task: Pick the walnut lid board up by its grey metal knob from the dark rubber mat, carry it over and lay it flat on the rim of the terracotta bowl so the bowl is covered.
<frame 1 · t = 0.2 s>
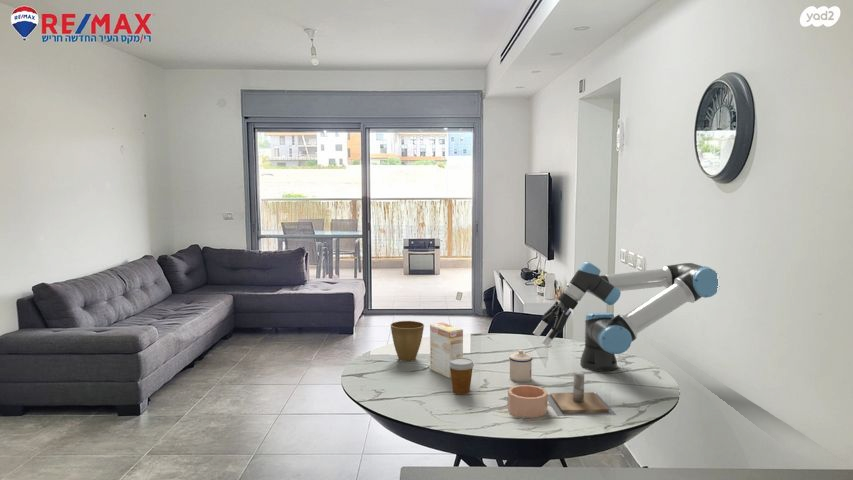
hand: (540, 339, 235), 16 cm above the table, tool tilted 35°, fingers open, 13 cm apart
plant pot: (407, 359, 262), on the table
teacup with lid: (519, 377, 237), on the table
coffeecake box: (446, 372, 244), on the table
rubber mat: (578, 405, 207), on the table
bowl: (527, 411, 202), on the table
disposable coffee cup: (461, 392, 221), on the table
lid board: (578, 404, 207), point 1 cm above the table, touching rubber mat
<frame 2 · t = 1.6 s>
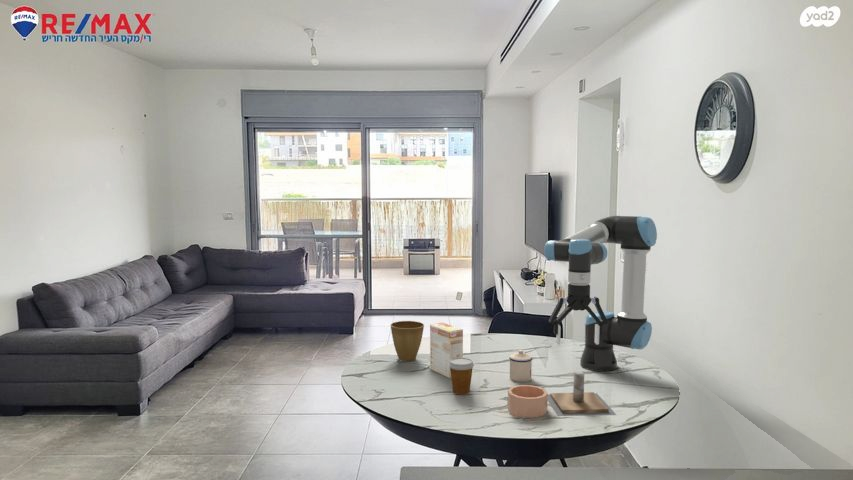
hand: (577, 343, 205), 22 cm above the table, tool pointing down, fingers open, 13 cm apart
nothing on the table moved.
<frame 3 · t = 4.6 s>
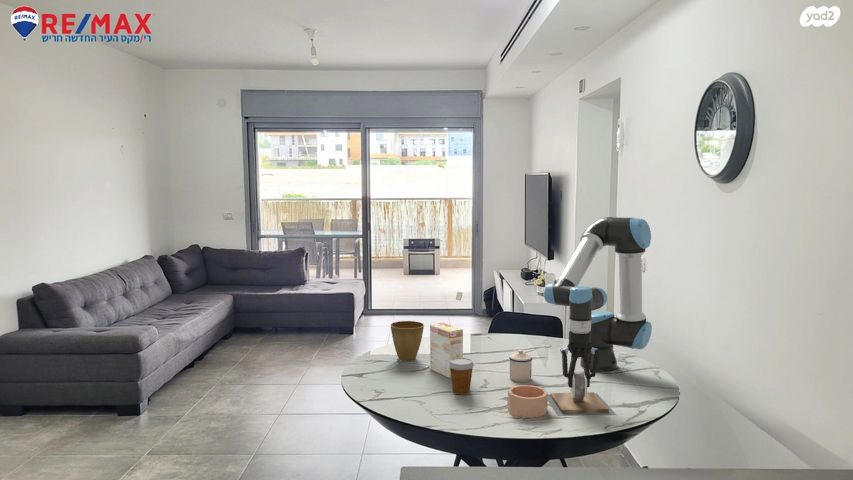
hand: (578, 395, 207), 4 cm above the table, tool pointing down, fingers closed on lid board, 4 cm apart
lid board: (578, 404, 207), point 1 cm above the table, touching gripper, rubber mat
everything else where it was.
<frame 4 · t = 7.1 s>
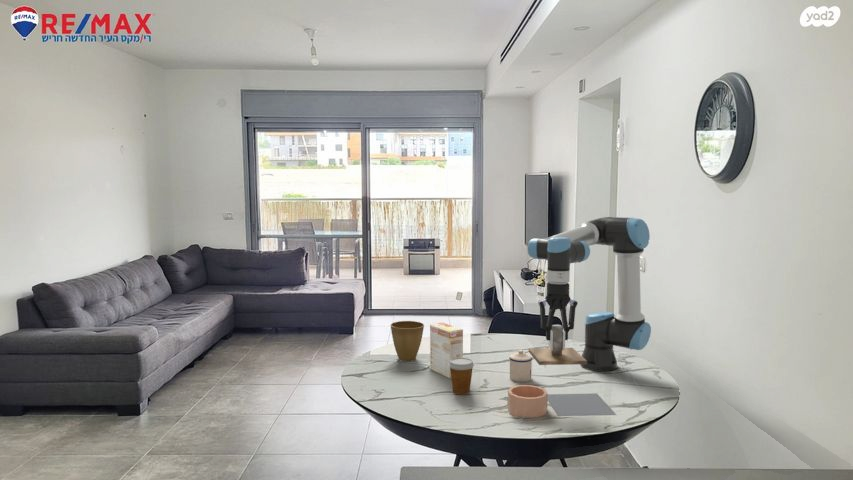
hand: (556, 349, 202), 21 cm above the table, tool pointing down, fingers closed on lid board, 4 cm apart
lid board: (556, 357, 203), point 18 cm above the table, touching gripper
everything else where it was.
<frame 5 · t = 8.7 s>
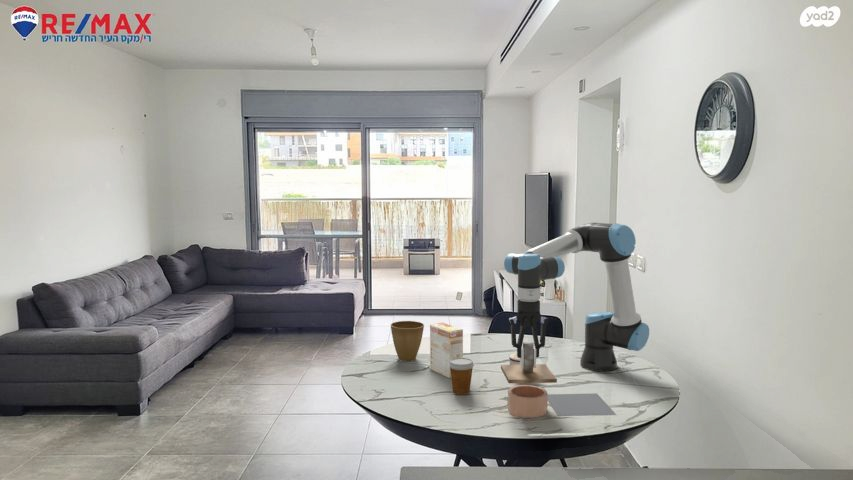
hand: (527, 366, 201), 16 cm above the table, tool pointing down, fingers closed on lid board, 4 cm apart
lid board: (527, 375, 201), point 13 cm above the table, touching gripper
everything else where it was.
when the fingers open (12 cm above the table, at t = 10.0 s): lid board drops 2 cm, resting on bowl.
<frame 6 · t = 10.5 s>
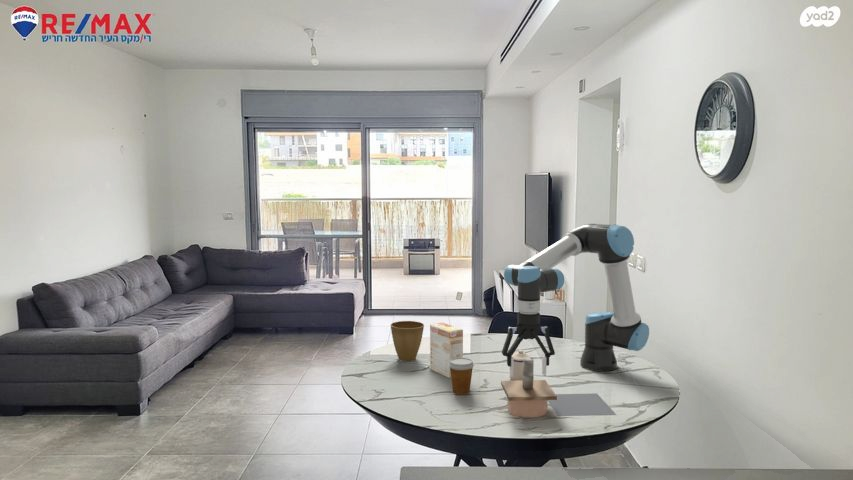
hand: (527, 375, 201), 13 cm above the table, tool pointing down, fingers open, 10 cm apart
lid board: (527, 391, 202), point 7 cm above the table, touching bowl
everything else where it was.
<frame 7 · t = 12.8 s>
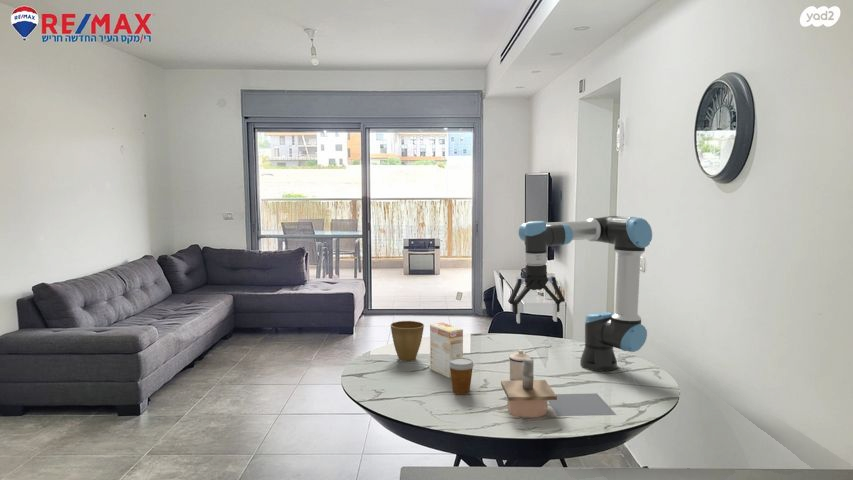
hand: (536, 321, 213), 28 cm above the table, tool pointing down, fingers open, 13 cm apart
nothing on the table moved.
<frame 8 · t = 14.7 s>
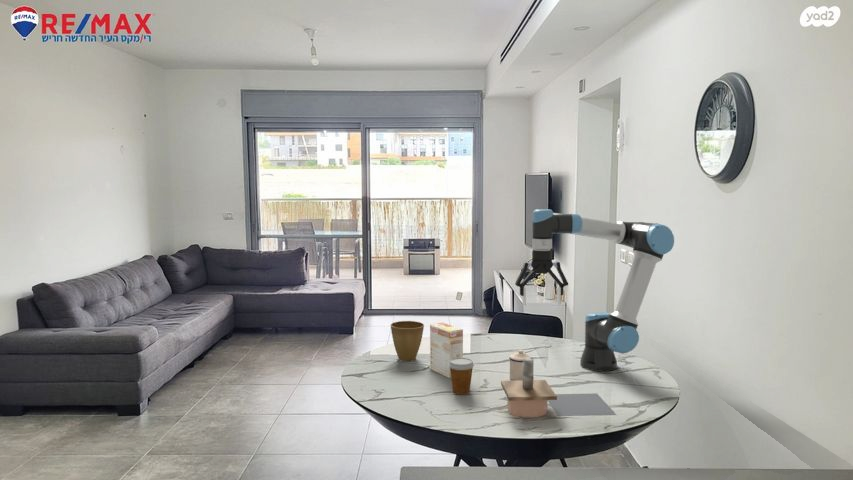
hand: (541, 303, 227), 32 cm above the table, tool pointing down, fingers open, 13 cm apart
nothing on the table moved.
at the end: lid board 0.0 cm off-centre on the bowl, point 7.0 cm above the bowl's base; lid board tilted 0°; the gripper is holding nothing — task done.
